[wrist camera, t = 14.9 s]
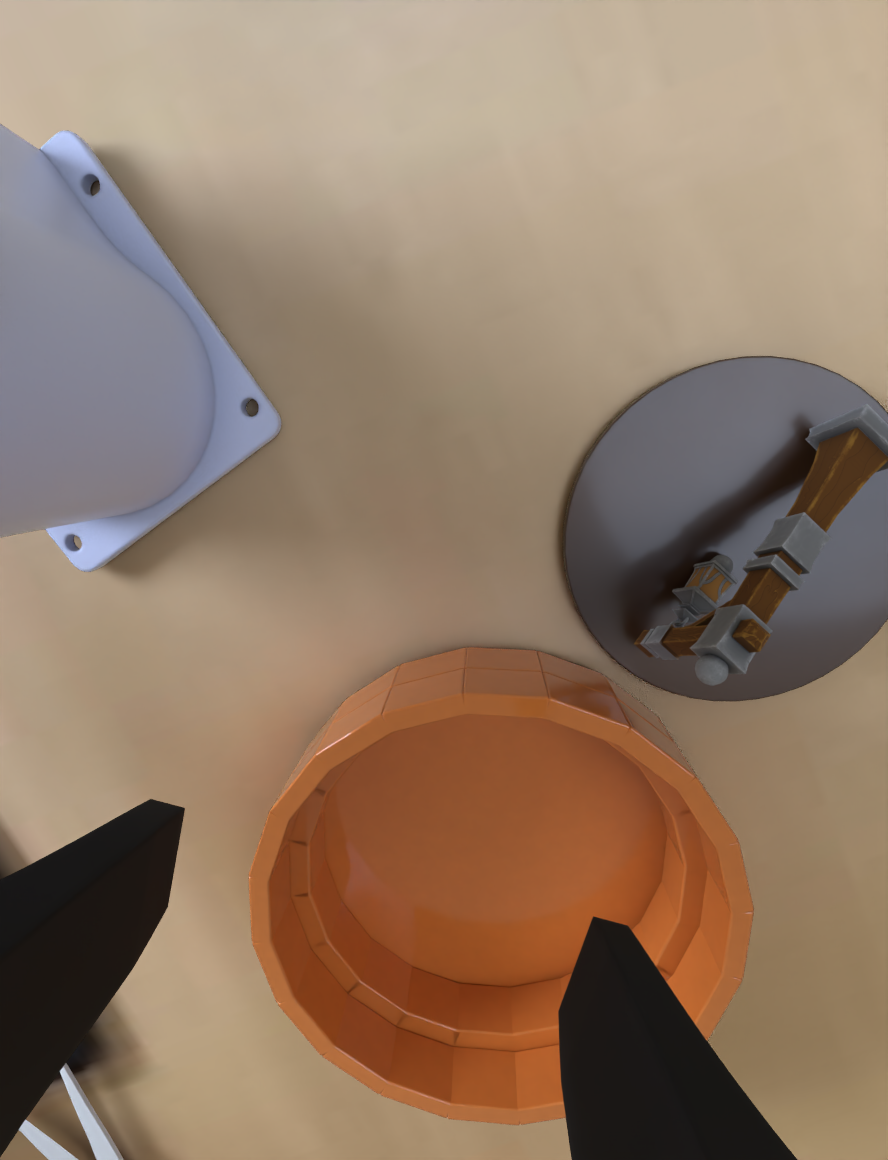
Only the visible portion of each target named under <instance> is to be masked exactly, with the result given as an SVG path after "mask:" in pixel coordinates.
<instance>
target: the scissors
mask: <svg viewBox="0 0 888 1160" xmlns="http://www.w3.org/2000/svg"><path fill="white" fill-rule="evenodd" d="M60 1073H61V1076H62V1078H63V1080H64V1083H65V1085H66V1088H67V1090H68V1093H69V1095H70V1098H71V1100H72V1102H73V1105H74V1107H75V1110H76V1112H77V1114H78V1117H79V1119H80V1121H81V1123H82V1125H83V1128H84V1130H85V1132H86V1134H87V1137H88V1139H89V1141H90V1144H91V1147H92V1149H93V1152H94V1155H95V1157H96V1160H124V1159H123V1157H122V1156H121V1154H120V1152H119V1150H118V1149H117V1147H116V1145H115V1144H114V1142H113V1140H112V1138H111V1137H110V1135H109V1133H108V1132H107V1130H106V1128H105V1127H104V1125H103V1123H102V1122H101V1120H100V1119H99V1117H98V1115H97V1114H96V1112H95V1110H94V1109H93V1107H92V1106H91V1104H90V1102H89V1101H88V1099H87V1097H86V1096H85V1094H84V1092H83V1090H82V1089H81V1087H80V1085H79V1084H78V1082H77V1080H76V1079H75V1077H74V1075H73V1073H72V1072H71V1070H70V1068H69V1067H68V1065H67V1064H66V1063H65V1065H64V1066H63V1068H62V1069H61V1070H60ZM19 1130H20V1131H21V1132H22V1133H23V1134H24V1135H25V1136H26V1137H27V1138H28V1139H29V1140H30V1141H31V1142H32V1144H33V1145H34V1146H35V1147H36V1148H37V1149H38V1150H39V1151H40V1152H41V1153H42V1154H43V1155H44V1156H45V1157H47V1158H48V1159H49V1160H78V1159H77V1158H75V1157H74V1156H73V1155H71V1154H70V1153H69V1152H68V1151H66V1150H65V1149H64V1148H62V1147H61V1146H60V1145H59V1144H57V1143H56V1142H55V1141H53V1140H52V1139H51V1138H49V1137H48V1136H47V1135H45V1134H44V1133H43V1132H41V1131H40V1130H39V1129H37V1128H36V1127H35V1126H33V1125H32V1124H31V1123H29V1122H28V1121H27V1120H25V1121H24V1122H23V1124H22V1125H21V1127H20V1128H19Z"/></svg>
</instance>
